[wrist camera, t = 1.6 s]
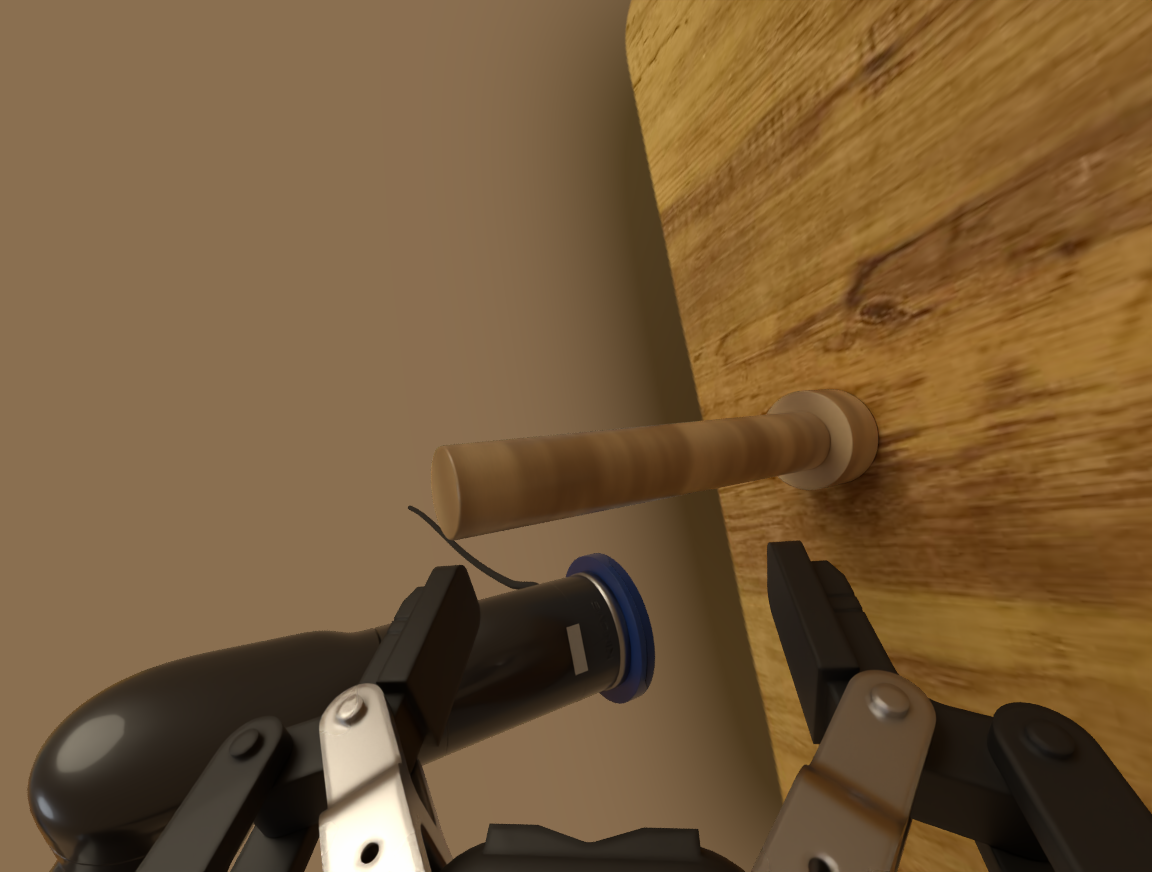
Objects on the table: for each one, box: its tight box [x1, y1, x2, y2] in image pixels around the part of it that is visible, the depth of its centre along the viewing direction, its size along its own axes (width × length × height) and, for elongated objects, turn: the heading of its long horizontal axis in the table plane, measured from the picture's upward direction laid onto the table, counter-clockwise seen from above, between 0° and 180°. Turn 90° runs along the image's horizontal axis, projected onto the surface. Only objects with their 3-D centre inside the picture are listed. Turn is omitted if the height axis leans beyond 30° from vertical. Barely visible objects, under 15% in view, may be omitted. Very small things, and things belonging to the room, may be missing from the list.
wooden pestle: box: [431, 389, 878, 540], centre depth 18 cm, size 4×4×18 cm
